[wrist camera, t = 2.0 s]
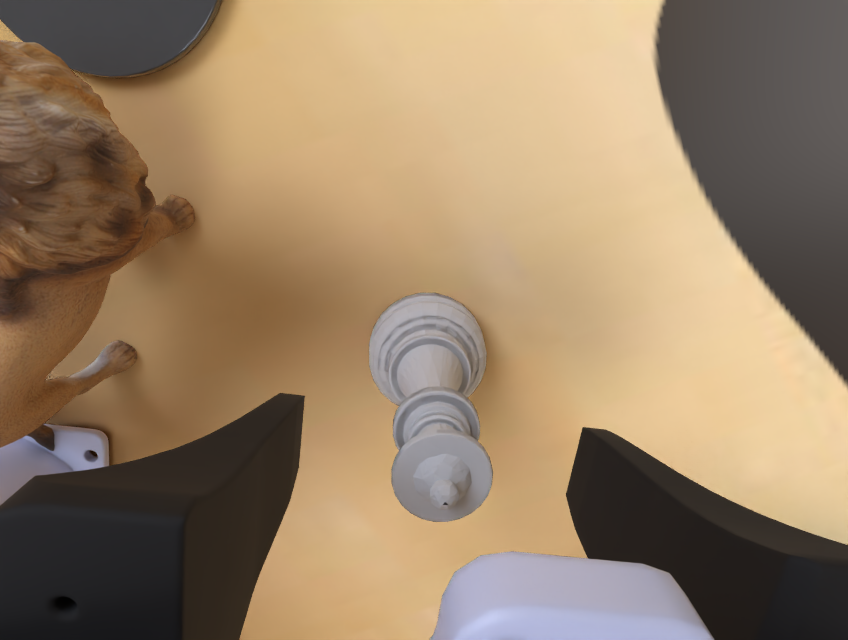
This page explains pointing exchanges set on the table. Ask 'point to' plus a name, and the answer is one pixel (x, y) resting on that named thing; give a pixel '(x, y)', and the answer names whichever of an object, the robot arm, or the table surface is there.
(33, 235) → the lion figurine
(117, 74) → the coaster
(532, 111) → the table surface
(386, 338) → the chess piece
